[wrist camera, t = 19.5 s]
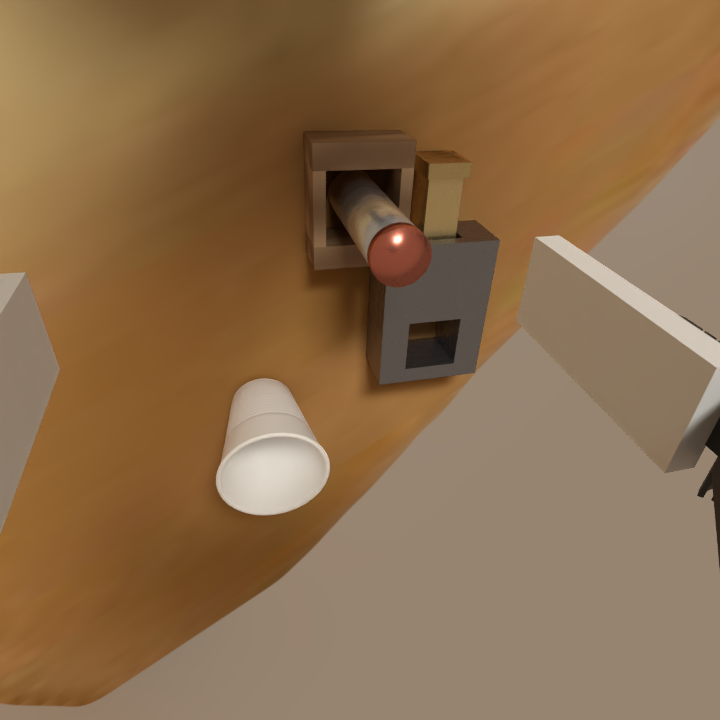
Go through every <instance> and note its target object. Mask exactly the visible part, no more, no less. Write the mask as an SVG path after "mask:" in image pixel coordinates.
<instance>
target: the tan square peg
mask: <svg viewBox="0 0 720 720" xmlns="http://www.w3.org/2000/svg"><path fill="white" fill-rule="evenodd" d="M471 168H472V162H470V161H469V160H467V159H465V158H464V157H462V156H461V155H459V154H457V153H456V152H454V151H424V152H416V154H415V165H414V169H415V172H414V183H413V195H412V206H411V218H410V221H411V222H412V223H413V224H414V225H415V226H416V227H417V228H418V229H420V230H421V232H422V233H423V234H424V235H425V236H426V237H427V238H428V240H439V239H455V238H456V231H457V223H458V216H459V209H460V202H461V195H462V188H463V180H464V178H470V174H471Z"/></svg>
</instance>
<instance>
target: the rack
mask: <svg viewBox="0 0 720 720" xmlns="http://www.w3.org/2000/svg"><path fill="white" fill-rule="evenodd" d="M303 138H304V179H305V219H306V252H307V255H308V257H309V259H310V262H311V264H312V266H313V269H314V270H327V269H340V268H354V267H367V266H369V264H368V263H367V261H366V260H365V258H364V256H363V255H362V253H361V252H360V250H359V249H358V247H357V245H356V244H355V242H354V241H353V239H352V238H351V236H350V234H349V233H348V231H347V230H346V228H333V229H326V171H341V170H372V169H386V185H385V194H386V195H387V197H388V198H389V199H390V200H391V201H392V202H393V203H394V204H395V205H396V206H397V207H398V208H399V209H400V210H401V211H402V212H403V214H404V215H405V216H406V217H407V218H408V219H409V220H410V211H411V199H412V188H413V177H414V165H415V154H416V142H417V141H416V140H415V139H413V138H412V137H410V136H409V135H407V134H406V133H404V132H403V131H401V130H376V131H314V132H303Z"/></svg>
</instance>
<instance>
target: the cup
mask: <svg viewBox="0 0 720 720" xmlns="http://www.w3.org/2000/svg"><path fill="white" fill-rule="evenodd" d="M329 471H330V463H329V458H328V456H327V453H326V452H325V450H324V449H323V448H322V446H321V445H319V443H318V442H317V440H316V438H315V436H314V434H313V432H312V431H311V429H310V427H309V425H308V423H307V422H306V420H305V418H304V416H303V414H302V412H301V411H300V409H299V407H298V405H297V403H296V401H295V399H294V397H293V396H292V394H291V392H290V390H289V389H288V388H287V387H286V386H285V385H284V384H283V383H281V382H279V381H277V380H274V379H268V378H261V379H256V380H252V381H249V382H248V383H246V384H244V385H243V386H241V387H240V388H239V389H238V390H237V391H236V393H235V395H234V396H233V400H232V404H231V409H230V416H229V422H228V427H227V432H226V438H225V444H224V448H223V454H222V459H221V464H220V465H219V467H218V470H217V474H216V486H217V490H218V492H219V494H220V496H221V497H222V499H223V500H224V501H225V502H226V503H227V504H228V505H230V506H231V507H233V508H234V509H236V510H239V511H241V512H244V513H248V514H253V515H276V514H280V513H285V512H288V511H291V510H294V509H296V508H298V507H300V506H302V505H304V504H306V503H307V502H309V501H310V500H311V499H313V498H314V497H315V496H316V495H317V494H318V493H319V492H320V491H321V490H322V488H323V487H324V485H325V484H326V481H327V479H328V477H329Z"/></svg>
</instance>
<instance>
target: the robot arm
mask: <svg viewBox="0 0 720 720" xmlns="http://www.w3.org/2000/svg"><path fill="white" fill-rule="evenodd" d="M517 322H518V323H519V324H520V325H521V326H522V327H523V328H524V329H525V330H526V331H527V332H528V333H529V334H530V336H531V337H532V338H533V339H534V340H535V341H536V342H537V343H538V344H539V345H540V346H541V347H542V348H543V349H544V350H545V351H546V352H547V353H548V354H549V355H550V356H551V357H552V358H553V359H554V360H555V361H556V362H557V363H558V364H559V365H560V366H561V367H562V368H563V369H564V370H565V371H566V372H567V373H568V374H569V376H570V377H571V378H572V379H574V381H575V382H576V383H577V384H578V385H579V386H580V387H581V388H582V389H583V390H584V391H585V392H586V393H587V394H588V395H589V396H590V397H591V398H592V399H593V400H594V401H595V402H596V403H597V404H598V405H599V406H600V407H601V408H602V409H603V410H604V411H605V412H606V413H607V414H608V416H610V418H611V419H612V420H613V421H614V422H615V423H616V424H617V425H618V426H619V427H620V428H621V429H622V430H623V431H624V432H625V433H626V434H627V435H628V436H629V437H630V438H631V439H632V440H633V441H634V442H635V443H636V444H637V445H638V446H639V447H640V448H641V449H642V450H643V451H644V452H645V453H646V454H647V456H649V458H650V459H651V460H653V462H654V463H655V464H656V465H657V466H658V467H659V468H660V469H661V470H662V471H663V472H664V473H667V472H673V471H678V470H683V469H689V468H694V467H695V465H696V463H697V461H698V459H699V458H700V456H701V454H702V452H703V450H704V448H705V446H707V447H708V448H709V449H710V450H712V451H713V452H714V453H715V454H716V455H717V456H718V457H717V459H716V461H715V462H714V464H713V466H712V468H711V470H710V471H709V473H708V475H707V477H706V478H705V480H704V482H703V484H702V486H701V487H700V489H699V492H698V496H699V497H704V495H705V493H706V492H707V491H708V490H710V489H713V498H712V501H714V508H715V519H716V531H717V543H718V554H719V566H720V341H717V340H716V338H715V337H714V336H712V335H711V334H709V333H707V332H703V331H702V330H703V329H702V328H700V327H699V326H697V325H696V324H694V323H693V322H691V321H689V320H688V319H687V318H685V317H682V316H680V315H677V314H676V313H674V312H673V311H671V310H670V309H668V308H667V307H665V306H664V305H662V304H660V303H659V302H658V301H656V300H655V299H653V298H652V297H650V296H649V295H647V294H646V293H644V292H643V291H641V290H640V289H638V288H637V287H635V286H634V285H632V284H631V283H629V282H628V281H626V280H625V279H623V278H622V277H620V276H619V275H617V274H616V273H614V272H613V271H611V270H610V269H608V268H607V267H605V266H604V265H602V264H601V263H599V262H598V261H596V260H595V259H593V258H592V257H590V256H589V255H588V254H586V253H585V252H583V251H582V250H580V249H579V248H577V247H576V246H574V245H573V244H571V243H570V242H568V241H567V240H565V239H564V238H562V237H561V236H545V237H535V241H534V245H533V250H532V254H531V259H530V263H529V267H528V272H527V276H526V281H525V285H524V290H523V294H522V298H521V303H520V307H519V312H518V316H517ZM59 371H60V369H59V366H58V363H57V360H56V357H55V354H54V351H53V348H52V346H51V343H50V340H49V337H48V334H47V331H46V328H45V325H44V323H43V320H42V317H41V314H40V311H39V308H38V305H37V302H36V300H35V297H34V294H33V291H32V288H31V285H30V282H29V280H28V277H27V274H26V272H22V273H8V274H0V534H1V531H2V528H3V526H4V523H5V520H6V517H7V515H8V512H9V509H10V506H11V504H12V501H13V498H14V495H15V493H16V490H17V487H18V484H19V481H20V479H21V476H22V473H23V470H24V468H25V465H26V462H27V459H28V457H29V454H30V451H31V448H32V446H33V443H34V440H35V437H36V435H37V432H38V429H39V426H40V423H41V421H42V418H43V415H44V412H45V410H46V407H47V404H48V401H49V399H50V396H51V393H52V390H53V388H54V385H55V382H56V379H57V376H58V374H59Z"/></svg>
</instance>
